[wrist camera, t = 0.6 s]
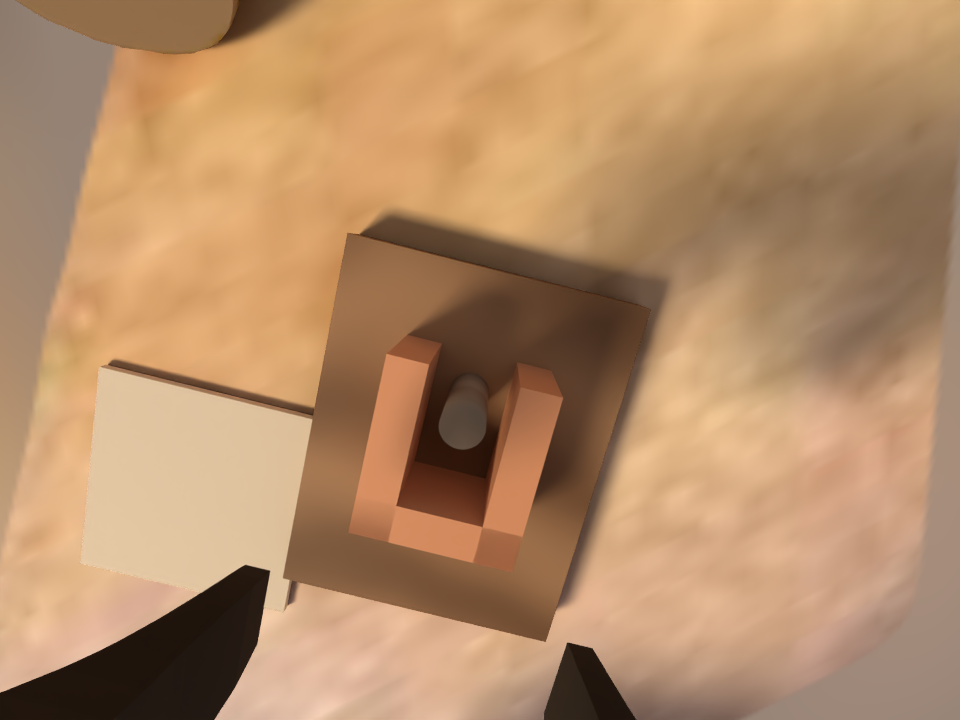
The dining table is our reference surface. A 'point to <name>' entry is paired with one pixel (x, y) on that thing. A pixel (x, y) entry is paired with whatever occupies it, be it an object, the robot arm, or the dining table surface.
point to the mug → (143, 21)
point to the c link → (445, 493)
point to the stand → (459, 424)
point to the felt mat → (191, 483)
